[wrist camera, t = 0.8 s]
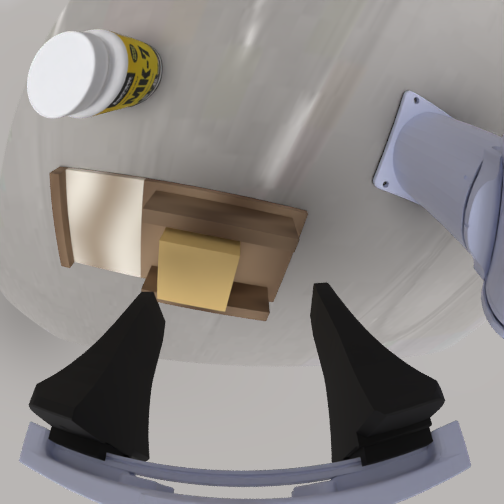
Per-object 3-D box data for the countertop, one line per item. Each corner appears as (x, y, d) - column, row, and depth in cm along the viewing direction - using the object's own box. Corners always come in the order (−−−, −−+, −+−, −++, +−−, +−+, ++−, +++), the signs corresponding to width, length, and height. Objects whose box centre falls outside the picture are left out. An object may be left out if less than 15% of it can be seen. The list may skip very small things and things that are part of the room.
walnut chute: (306, 210, 20) (316, 235, 17) (272, 298, 25) (275, 327, 22) (59, 166, 17) (34, 182, 14) (68, 256, 22) (51, 279, 19)
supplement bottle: (155, 110, 16) (91, 133, 9) (96, 103, 15) (16, 127, 8) (172, 44, 13) (115, 18, 6) (109, 41, 12) (31, 30, 5)
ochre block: (241, 224, 20) (240, 255, 17) (227, 276, 23) (225, 311, 19) (173, 211, 19) (159, 240, 16) (168, 265, 22) (157, 298, 19)
